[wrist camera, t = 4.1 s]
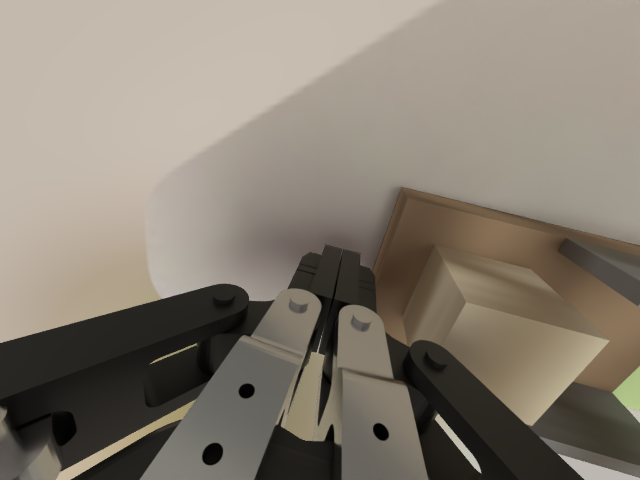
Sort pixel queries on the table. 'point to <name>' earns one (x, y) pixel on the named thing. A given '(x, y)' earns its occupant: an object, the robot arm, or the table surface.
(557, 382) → the block
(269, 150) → the table surface
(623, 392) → the pad
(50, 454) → the robot arm
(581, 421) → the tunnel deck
